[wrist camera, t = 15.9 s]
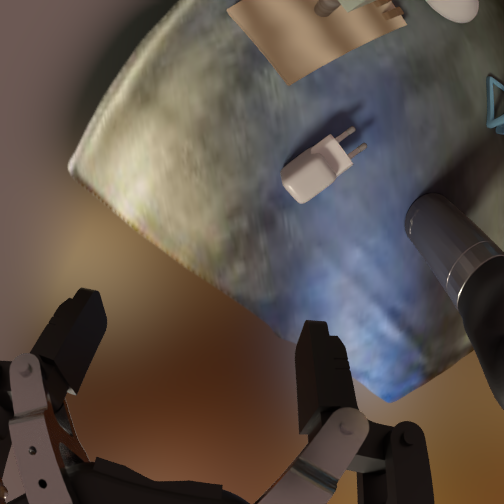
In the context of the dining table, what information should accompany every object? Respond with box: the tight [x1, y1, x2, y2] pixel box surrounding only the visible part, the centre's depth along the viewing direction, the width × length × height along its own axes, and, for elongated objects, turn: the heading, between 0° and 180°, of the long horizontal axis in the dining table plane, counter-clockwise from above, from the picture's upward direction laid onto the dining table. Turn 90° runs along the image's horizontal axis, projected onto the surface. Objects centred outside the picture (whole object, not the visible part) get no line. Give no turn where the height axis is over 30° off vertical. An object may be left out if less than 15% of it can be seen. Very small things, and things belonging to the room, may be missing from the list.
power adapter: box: [280, 126, 367, 204], centre depth 34 cm, size 11×5×6 cm, turn 132°
